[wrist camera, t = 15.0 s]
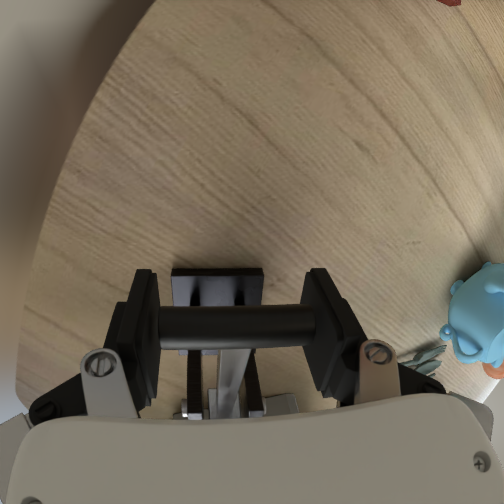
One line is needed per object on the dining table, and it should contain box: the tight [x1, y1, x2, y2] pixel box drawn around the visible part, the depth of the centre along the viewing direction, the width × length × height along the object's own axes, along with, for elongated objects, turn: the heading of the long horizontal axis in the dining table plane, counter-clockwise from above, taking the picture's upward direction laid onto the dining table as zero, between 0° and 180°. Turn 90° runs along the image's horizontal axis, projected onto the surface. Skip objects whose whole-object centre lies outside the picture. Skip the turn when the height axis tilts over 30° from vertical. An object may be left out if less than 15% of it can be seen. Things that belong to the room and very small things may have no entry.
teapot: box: [439, 261, 504, 368], centre depth 30 cm, size 13×14×11 cm
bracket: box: [171, 268, 266, 420], centre depth 25 cm, size 10×8×13 cm
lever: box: [158, 304, 316, 420], centre depth 16 cm, size 16×5×2 cm, turn 176°
